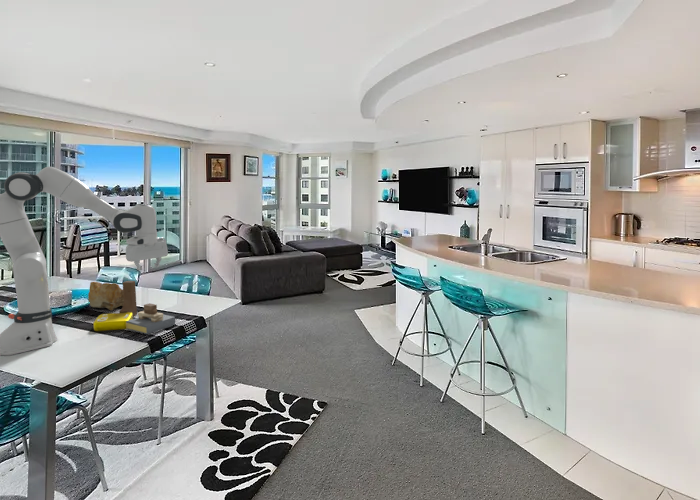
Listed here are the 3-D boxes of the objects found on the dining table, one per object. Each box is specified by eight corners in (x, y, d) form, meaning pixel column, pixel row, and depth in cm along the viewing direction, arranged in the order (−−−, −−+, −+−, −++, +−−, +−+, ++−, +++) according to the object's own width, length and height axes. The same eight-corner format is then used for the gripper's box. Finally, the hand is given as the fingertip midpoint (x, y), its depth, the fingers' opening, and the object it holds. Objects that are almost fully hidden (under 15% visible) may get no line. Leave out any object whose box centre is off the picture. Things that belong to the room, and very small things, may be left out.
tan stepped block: (155, 322, 207) (154, 316, 206) (138, 318, 212) (138, 312, 212) (163, 319, 211) (163, 313, 210) (146, 315, 216) (146, 309, 216)
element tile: (128, 329, 210) (128, 319, 209) (92, 332, 205) (92, 322, 204) (133, 320, 224) (133, 311, 223) (100, 322, 219) (99, 313, 218)
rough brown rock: (138, 308, 245) (138, 281, 244) (107, 313, 231) (107, 284, 231) (115, 303, 258) (115, 277, 257) (85, 307, 244) (85, 280, 243)
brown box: (151, 314, 208) (150, 306, 208) (144, 313, 211) (143, 304, 210) (157, 312, 211) (156, 304, 211) (150, 311, 214) (149, 303, 213)
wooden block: (128, 319, 223) (126, 284, 221) (119, 319, 223) (117, 284, 221) (137, 314, 232) (135, 280, 229) (128, 314, 232) (126, 280, 230)
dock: (146, 334, 202) (145, 326, 201) (126, 329, 208) (125, 321, 208) (175, 324, 216) (175, 316, 215) (155, 320, 222) (155, 312, 222)
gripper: (161, 236, 216) (162, 264, 218) (122, 240, 199) (124, 271, 201) (170, 237, 214) (171, 265, 216) (131, 241, 196) (133, 272, 198)
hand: (148, 268), depth 208 cm, fingers open, 8 cm apart
